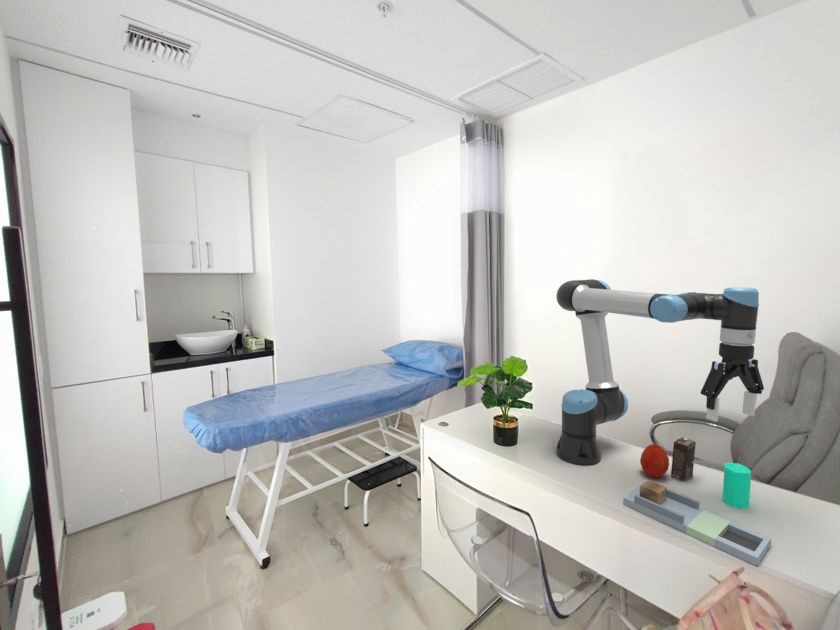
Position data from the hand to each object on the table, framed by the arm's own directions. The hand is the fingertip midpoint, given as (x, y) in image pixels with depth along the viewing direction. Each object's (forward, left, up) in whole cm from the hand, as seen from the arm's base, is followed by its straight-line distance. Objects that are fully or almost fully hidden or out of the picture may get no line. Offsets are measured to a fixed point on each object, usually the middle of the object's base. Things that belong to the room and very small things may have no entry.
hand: (730, 417), depth 109 cm
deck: (-2, -19, -25) cm, 32 cm away
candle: (+2, +2, -26) cm, 26 cm away
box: (-13, +6, -26) cm, 29 cm away
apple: (-19, 0, -26) cm, 32 cm away
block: (-12, -19, -23) cm, 32 cm away
